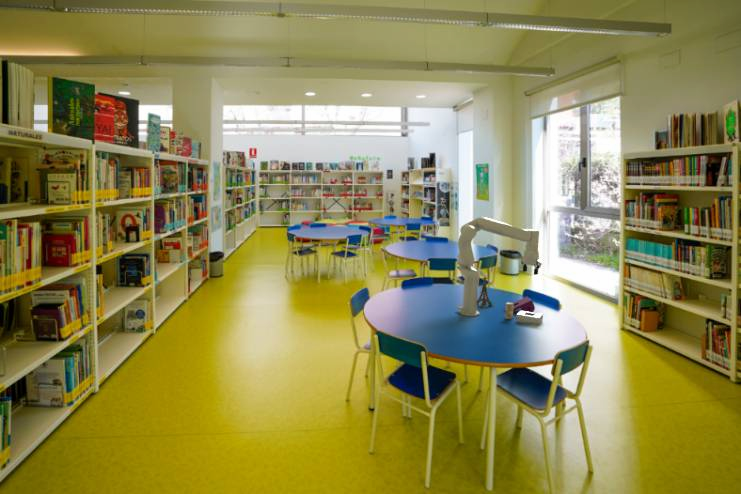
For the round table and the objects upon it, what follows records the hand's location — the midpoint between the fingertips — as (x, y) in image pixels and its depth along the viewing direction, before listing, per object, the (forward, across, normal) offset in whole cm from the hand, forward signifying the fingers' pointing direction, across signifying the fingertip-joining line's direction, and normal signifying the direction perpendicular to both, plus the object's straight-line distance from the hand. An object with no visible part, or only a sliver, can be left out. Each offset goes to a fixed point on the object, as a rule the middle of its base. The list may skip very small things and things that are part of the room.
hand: (530, 273), depth 300 cm
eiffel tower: (+29, -28, -14) cm, 42 cm away
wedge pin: (+28, +2, -19) cm, 34 cm away
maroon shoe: (+29, -6, -2) cm, 29 cm away
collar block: (+28, +14, -13) cm, 34 cm away
